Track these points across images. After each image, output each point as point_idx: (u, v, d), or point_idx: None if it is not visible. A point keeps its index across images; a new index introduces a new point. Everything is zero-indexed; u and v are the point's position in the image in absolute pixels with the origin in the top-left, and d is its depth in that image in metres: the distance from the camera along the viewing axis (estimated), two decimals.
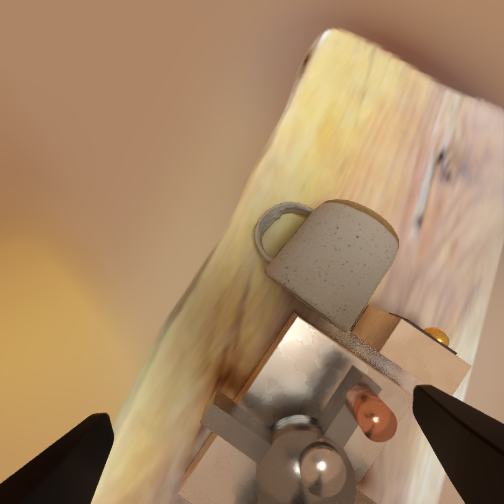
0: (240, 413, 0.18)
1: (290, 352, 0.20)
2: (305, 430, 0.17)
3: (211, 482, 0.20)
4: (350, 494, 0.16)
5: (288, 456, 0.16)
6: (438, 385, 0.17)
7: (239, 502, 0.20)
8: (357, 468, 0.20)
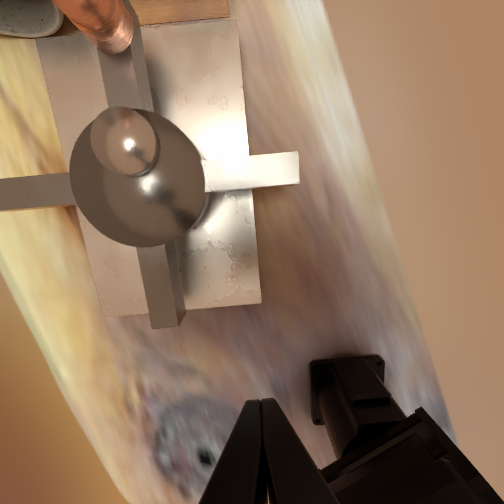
0: None
1: (67, 91, 0.14)
2: None
3: (120, 285, 0.17)
4: (187, 150, 0.12)
5: (94, 167, 0.12)
6: None
7: None
8: None
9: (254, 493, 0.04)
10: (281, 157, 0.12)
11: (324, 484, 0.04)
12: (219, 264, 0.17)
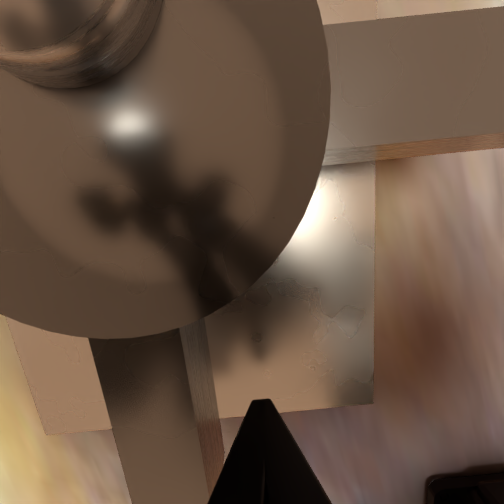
0: None
1: None
2: None
3: (78, 373, 0.08)
4: None
5: None
6: None
7: None
8: None
9: (263, 492, 0.04)
10: None
11: (317, 485, 0.04)
12: (291, 329, 0.08)
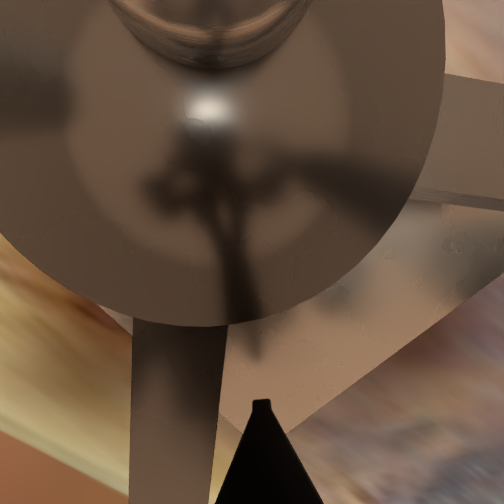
0: None
1: None
2: None
3: (257, 384, 0.08)
4: (418, 18, 0.03)
5: None
6: None
7: (320, 333, 0.08)
8: None
9: (271, 492, 0.04)
10: None
11: (310, 485, 0.04)
12: (417, 227, 0.07)
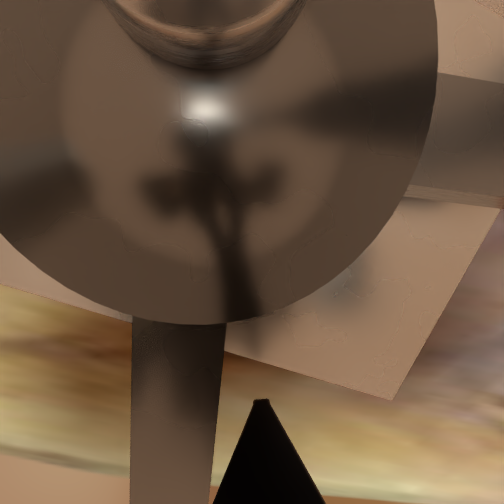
0: None
1: None
2: None
3: (356, 342, 0.08)
4: (410, 18, 0.03)
5: None
6: None
7: (393, 266, 0.08)
8: None
9: (269, 492, 0.04)
10: None
11: (312, 485, 0.04)
12: None
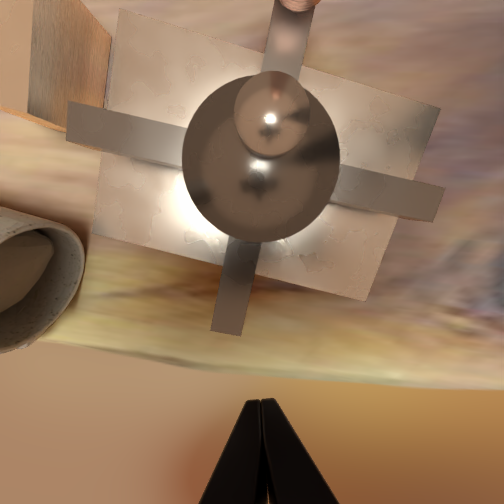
0: None
1: (141, 226, 0.14)
2: None
3: (340, 267, 0.15)
4: (331, 148, 0.10)
5: (218, 132, 0.10)
6: None
7: (355, 223, 0.14)
8: (258, 69, 0.13)
9: (254, 493, 0.04)
10: (425, 188, 0.11)
11: (324, 484, 0.04)
12: (368, 144, 0.13)
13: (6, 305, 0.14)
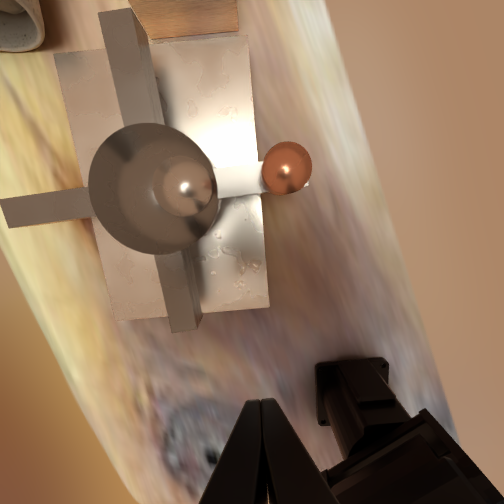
0: (150, 73, 0.13)
1: (83, 103, 0.15)
2: (200, 148, 0.13)
3: (132, 289, 0.18)
4: (186, 240, 0.13)
5: (161, 150, 0.12)
6: None
7: None
8: None
9: (254, 493, 0.04)
10: (190, 317, 0.14)
11: (324, 484, 0.04)
12: (228, 269, 0.17)
13: None
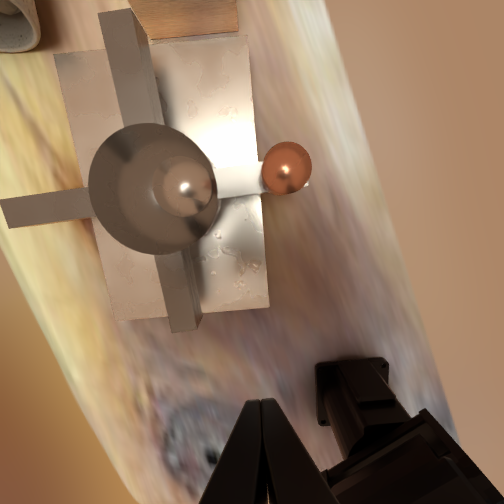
0: (150, 74, 0.13)
1: (83, 103, 0.15)
2: None
3: (132, 289, 0.18)
4: (186, 240, 0.13)
5: (161, 150, 0.12)
6: None
7: None
8: None
9: (254, 493, 0.04)
10: (190, 317, 0.14)
11: (324, 484, 0.04)
12: (228, 269, 0.17)
13: None
